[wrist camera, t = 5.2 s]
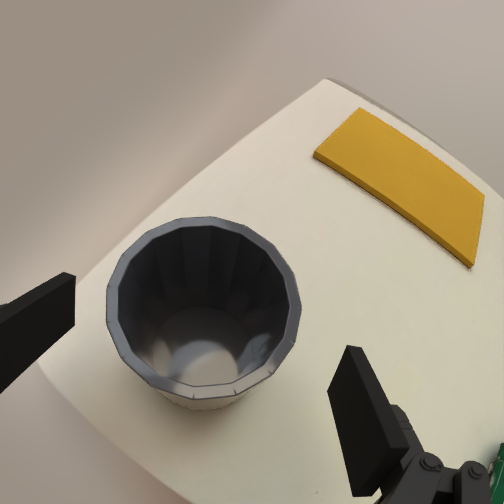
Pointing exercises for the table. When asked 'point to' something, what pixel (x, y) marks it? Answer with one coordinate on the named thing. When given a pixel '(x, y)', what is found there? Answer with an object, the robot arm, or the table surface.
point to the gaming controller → (497, 478)
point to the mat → (407, 181)
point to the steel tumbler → (203, 310)
